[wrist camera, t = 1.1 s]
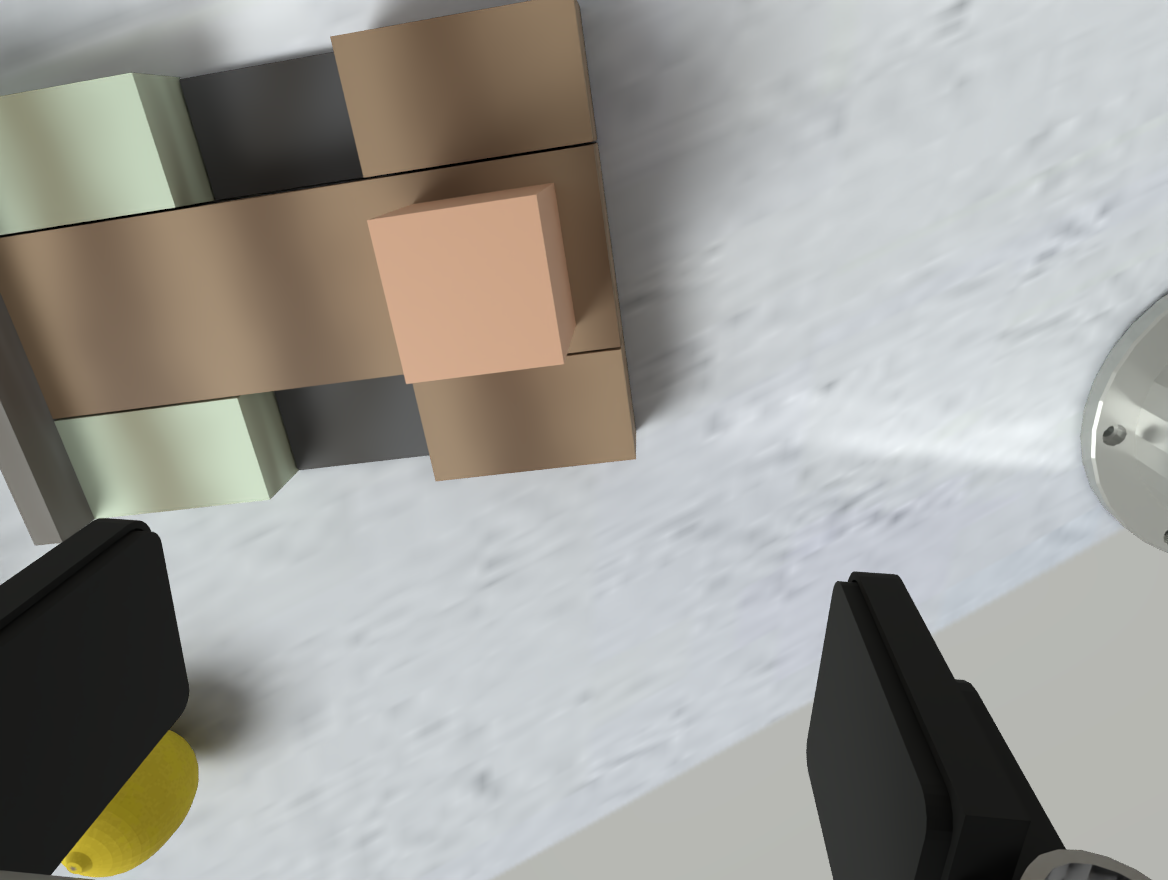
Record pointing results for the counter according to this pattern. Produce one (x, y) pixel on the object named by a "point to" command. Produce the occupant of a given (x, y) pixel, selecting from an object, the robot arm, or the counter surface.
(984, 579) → the counter surface
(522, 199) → the block
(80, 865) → the lemon
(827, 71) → the counter surface
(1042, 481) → the counter surface
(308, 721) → the counter surface
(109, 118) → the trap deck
